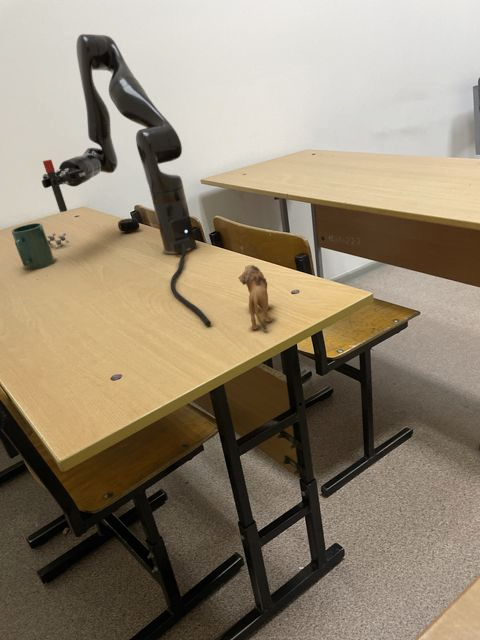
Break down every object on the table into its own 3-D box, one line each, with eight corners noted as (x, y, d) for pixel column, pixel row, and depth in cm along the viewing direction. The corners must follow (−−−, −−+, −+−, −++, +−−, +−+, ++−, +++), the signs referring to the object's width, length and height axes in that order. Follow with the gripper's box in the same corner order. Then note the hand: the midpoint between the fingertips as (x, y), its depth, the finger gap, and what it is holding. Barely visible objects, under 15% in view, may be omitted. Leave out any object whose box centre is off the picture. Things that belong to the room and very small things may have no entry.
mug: (33, 261, 166) (20, 225, 161) (59, 257, 165) (46, 221, 160) (14, 275, 155) (-1, 237, 150) (41, 272, 154) (27, 234, 149)
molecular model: (31, 251, 177) (26, 236, 175) (38, 246, 181) (33, 232, 179) (67, 248, 174) (62, 233, 172) (73, 244, 177) (68, 229, 175)
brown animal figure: (242, 305, 111) (235, 265, 107) (267, 300, 112) (261, 260, 108) (253, 335, 99) (245, 290, 94) (281, 329, 99) (274, 284, 95)
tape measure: (140, 230, 178) (138, 220, 177) (121, 235, 177) (118, 224, 175) (138, 226, 184) (135, 216, 182) (119, 231, 183) (116, 220, 181)
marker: (68, 210, 152) (52, 159, 145) (60, 212, 151) (43, 161, 144) (66, 209, 153) (50, 159, 147) (58, 211, 152) (41, 161, 146)
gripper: (53, 160, 160) (21, 172, 145) (94, 154, 157) (66, 166, 142) (61, 185, 163) (31, 200, 149) (101, 180, 160) (75, 194, 146)
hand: (48, 183), depth 145 cm, fingers closed on marker, 2 cm apart
